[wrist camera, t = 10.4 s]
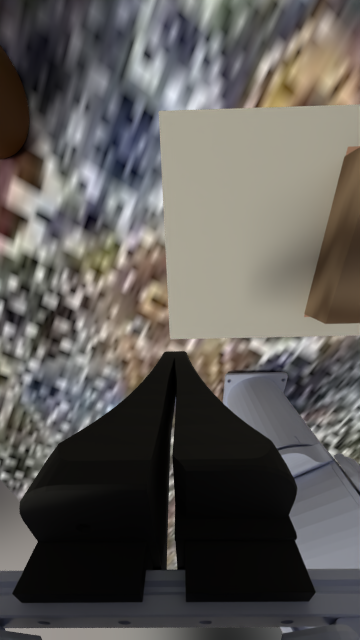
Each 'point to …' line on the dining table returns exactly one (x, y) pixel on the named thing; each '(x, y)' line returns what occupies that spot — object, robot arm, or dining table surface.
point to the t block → (340, 253)
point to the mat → (250, 216)
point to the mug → (12, 109)
